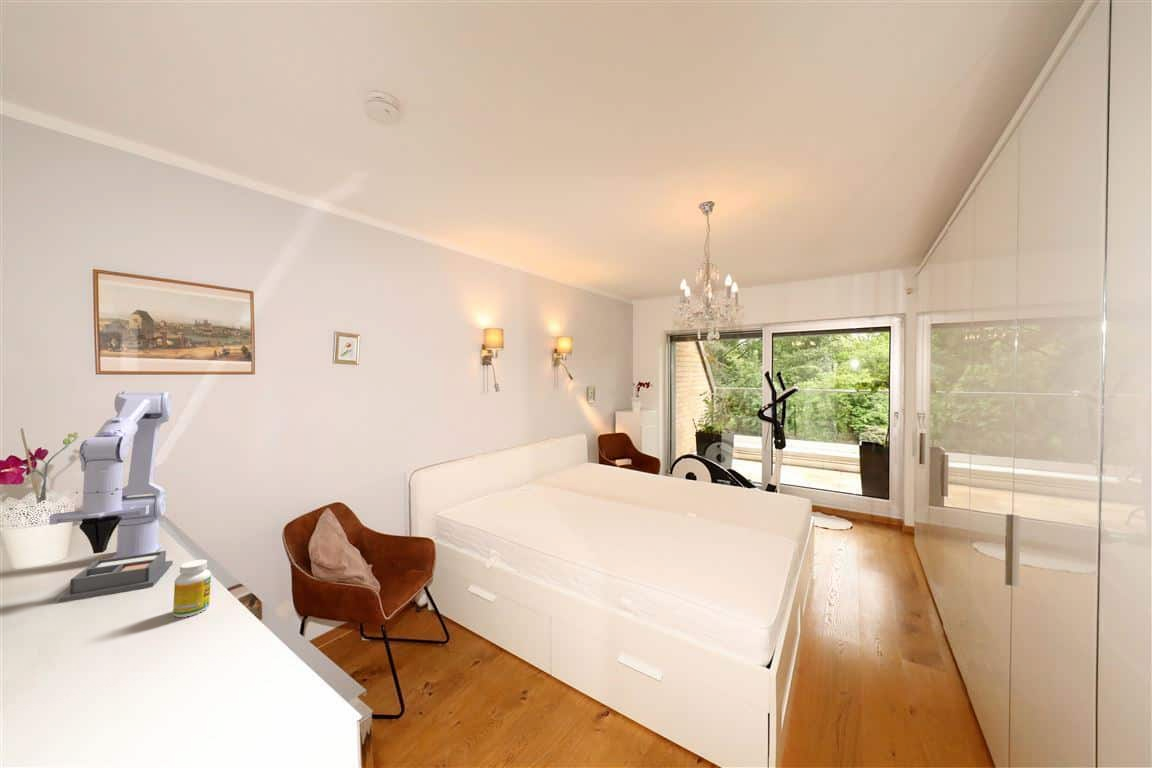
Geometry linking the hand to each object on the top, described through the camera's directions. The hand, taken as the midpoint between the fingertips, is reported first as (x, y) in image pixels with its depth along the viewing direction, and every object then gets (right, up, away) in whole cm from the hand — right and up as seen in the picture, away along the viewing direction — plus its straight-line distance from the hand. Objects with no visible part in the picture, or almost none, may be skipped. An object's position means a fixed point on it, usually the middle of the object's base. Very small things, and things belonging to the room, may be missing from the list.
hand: (99, 551), depth 90 cm
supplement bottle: (+29, -9, -8) cm, 31 cm away
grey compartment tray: (+1, -8, +4) cm, 9 cm away
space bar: (-1, -7, +6) cm, 9 cm away
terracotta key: (+5, -6, +3) cm, 8 cm away
